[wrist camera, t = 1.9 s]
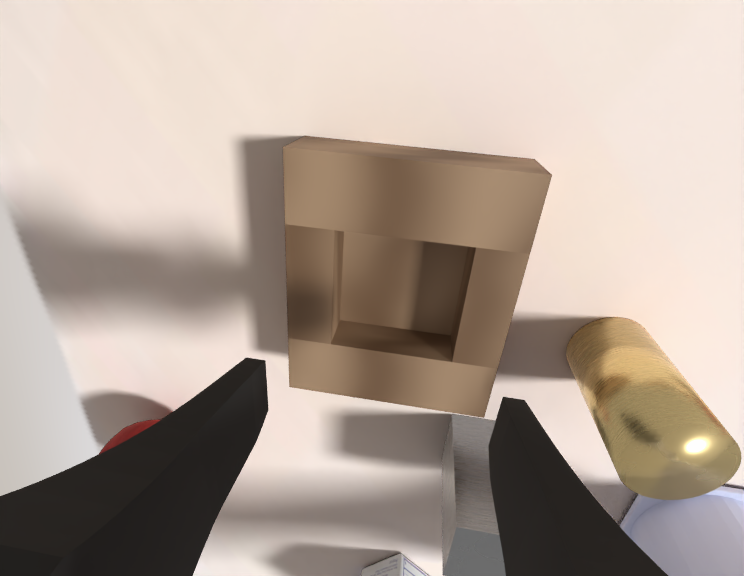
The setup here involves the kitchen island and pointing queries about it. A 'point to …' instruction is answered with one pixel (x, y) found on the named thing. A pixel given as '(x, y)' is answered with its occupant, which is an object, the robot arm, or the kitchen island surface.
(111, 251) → the kitchen island surface
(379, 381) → the socket block
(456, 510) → the square bit
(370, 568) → the medicine box
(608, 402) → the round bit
